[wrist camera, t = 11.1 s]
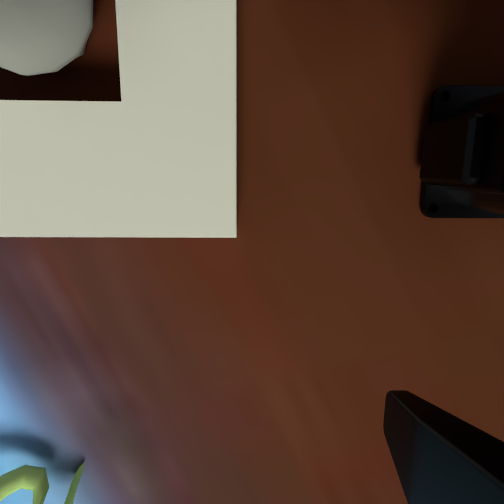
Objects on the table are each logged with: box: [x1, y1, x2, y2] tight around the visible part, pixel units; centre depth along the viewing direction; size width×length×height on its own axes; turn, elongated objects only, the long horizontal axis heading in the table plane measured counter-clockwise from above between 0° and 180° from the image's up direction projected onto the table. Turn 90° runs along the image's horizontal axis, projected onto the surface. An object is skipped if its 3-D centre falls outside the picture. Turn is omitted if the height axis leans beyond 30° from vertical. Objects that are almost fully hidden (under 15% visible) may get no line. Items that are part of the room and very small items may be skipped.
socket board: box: [0, 0, 237, 238], centre depth 17 cm, size 18×20×2 cm
